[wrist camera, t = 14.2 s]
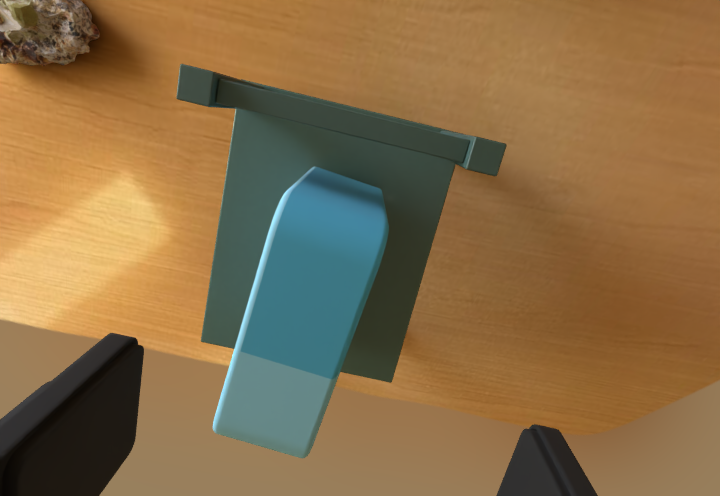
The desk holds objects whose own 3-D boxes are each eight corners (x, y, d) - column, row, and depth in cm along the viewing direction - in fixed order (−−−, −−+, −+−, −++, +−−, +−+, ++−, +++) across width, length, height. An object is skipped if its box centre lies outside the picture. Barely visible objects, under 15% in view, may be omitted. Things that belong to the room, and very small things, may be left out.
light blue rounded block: (325, 346, 32) (302, 476, 20) (264, 326, 31) (204, 448, 20) (382, 186, 28) (393, 232, 17) (314, 162, 28) (278, 194, 17)
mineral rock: (-77, 45, 32) (-98, -88, 28) (-27, 37, 36) (-39, -81, 31) (76, 100, 33) (78, -19, 29) (109, 87, 37) (115, -20, 33)
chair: (443, 130, 35) (510, 142, 19) (386, 332, 40) (400, 482, 24) (268, 87, 35) (177, 59, 18) (232, 298, 39) (136, 428, 23)
